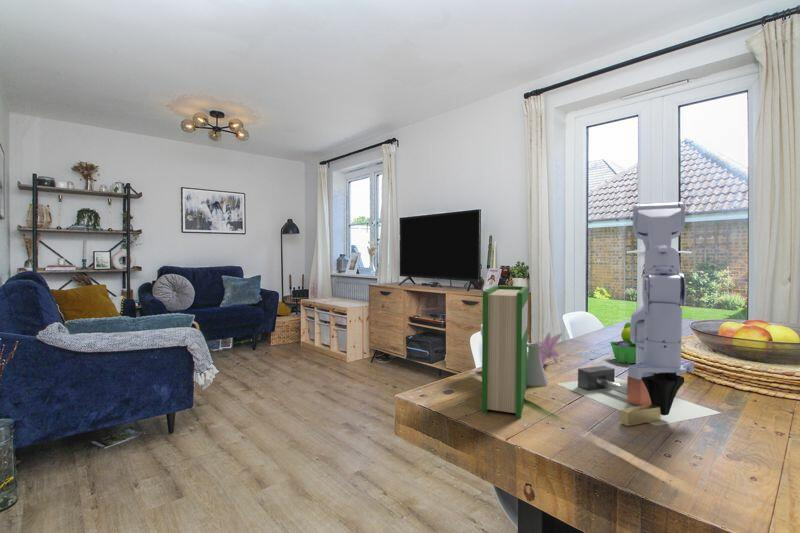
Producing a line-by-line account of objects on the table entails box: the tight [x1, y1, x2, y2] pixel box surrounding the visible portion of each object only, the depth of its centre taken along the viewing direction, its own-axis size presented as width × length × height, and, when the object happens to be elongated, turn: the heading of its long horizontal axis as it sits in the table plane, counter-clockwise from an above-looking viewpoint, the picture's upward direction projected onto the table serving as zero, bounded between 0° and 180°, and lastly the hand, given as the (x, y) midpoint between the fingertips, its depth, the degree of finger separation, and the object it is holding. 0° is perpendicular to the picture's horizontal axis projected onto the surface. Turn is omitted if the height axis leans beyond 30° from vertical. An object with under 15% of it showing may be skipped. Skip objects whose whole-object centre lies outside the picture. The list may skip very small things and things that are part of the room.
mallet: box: [597, 375, 652, 406], centre depth 88 cm, size 4×16×5 cm, turn 20°
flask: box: [527, 342, 549, 387], centre depth 96 cm, size 7×7×10 cm
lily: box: [534, 332, 563, 366], centre depth 113 cm, size 12×12×10 cm
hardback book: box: [481, 285, 529, 419], centre depth 86 cm, size 18×7×24 cm, turn 159°
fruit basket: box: [609, 321, 636, 364], centre depth 119 cm, size 11×9×11 cm
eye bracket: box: [577, 365, 616, 391], centre depth 92 cm, size 8×3×4 cm, turn 110°
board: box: [556, 376, 722, 427], centre depth 86 cm, size 18×25×1 cm
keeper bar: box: [620, 404, 661, 427], centre depth 73 cm, size 8×2×2 cm, turn 110°
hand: (660, 413), depth 74 cm, fingers closed
